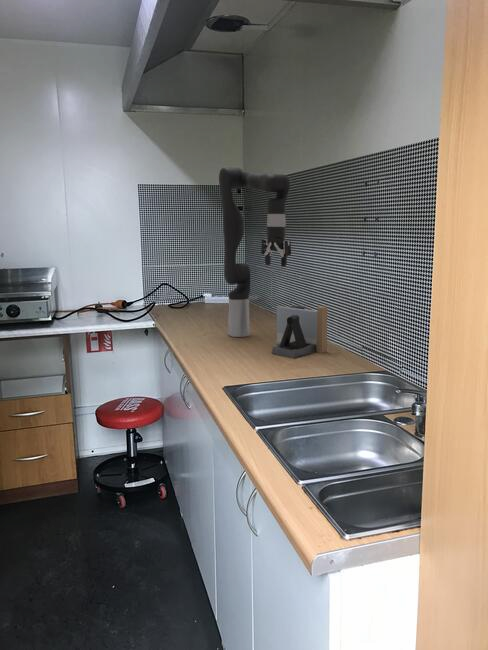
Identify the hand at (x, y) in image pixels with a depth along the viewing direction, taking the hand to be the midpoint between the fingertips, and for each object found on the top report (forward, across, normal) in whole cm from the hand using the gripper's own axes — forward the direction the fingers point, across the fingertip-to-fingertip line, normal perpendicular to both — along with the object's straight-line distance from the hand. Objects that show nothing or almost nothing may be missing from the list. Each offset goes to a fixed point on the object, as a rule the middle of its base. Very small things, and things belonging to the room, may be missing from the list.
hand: (275, 265), depth 217 cm
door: (+33, +11, +4) cm, 35 cm away
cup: (+34, +1, +14) cm, 37 cm away
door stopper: (+30, +15, -6) cm, 34 cm away
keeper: (+33, +15, -5) cm, 37 cm away
